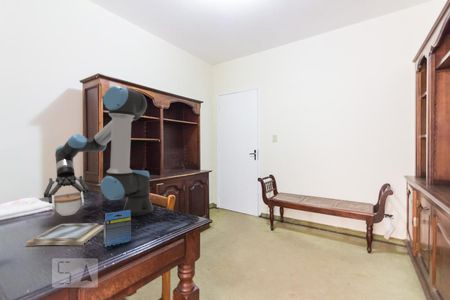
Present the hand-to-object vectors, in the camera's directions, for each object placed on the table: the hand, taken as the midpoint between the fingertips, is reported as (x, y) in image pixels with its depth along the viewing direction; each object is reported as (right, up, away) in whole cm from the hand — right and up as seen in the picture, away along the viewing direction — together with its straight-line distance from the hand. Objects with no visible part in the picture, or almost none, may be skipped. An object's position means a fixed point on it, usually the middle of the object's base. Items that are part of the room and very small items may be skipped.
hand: (68, 206), depth 107 cm
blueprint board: (+10, -8, -15) cm, 20 cm away
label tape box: (+33, -9, -21) cm, 40 cm away
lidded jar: (-2, -4, +2) cm, 5 cm away
